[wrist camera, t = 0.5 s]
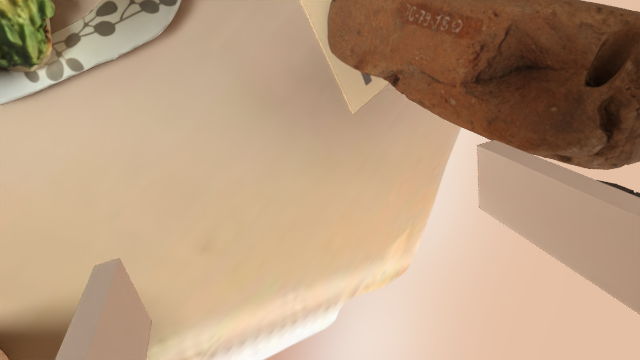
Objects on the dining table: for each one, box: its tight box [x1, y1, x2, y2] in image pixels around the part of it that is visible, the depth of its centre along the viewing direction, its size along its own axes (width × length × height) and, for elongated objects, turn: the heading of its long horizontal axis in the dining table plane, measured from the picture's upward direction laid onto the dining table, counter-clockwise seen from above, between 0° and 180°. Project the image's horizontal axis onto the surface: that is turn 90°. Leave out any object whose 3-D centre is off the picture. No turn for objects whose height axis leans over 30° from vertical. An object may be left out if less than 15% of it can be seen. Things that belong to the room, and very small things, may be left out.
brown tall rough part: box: [327, 0, 640, 170], centre depth 24 cm, size 11×8×20 cm
